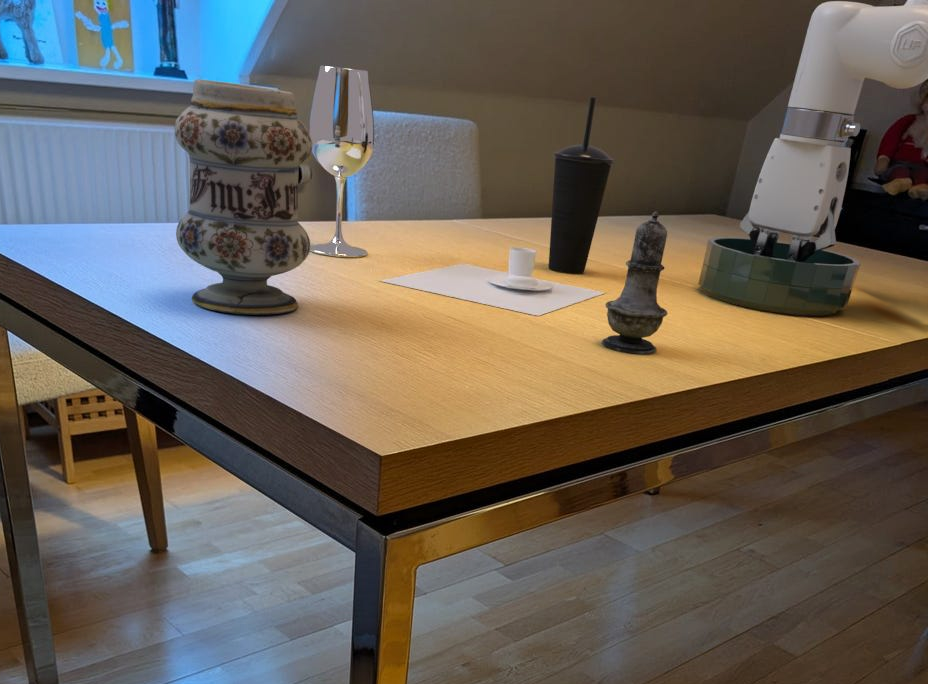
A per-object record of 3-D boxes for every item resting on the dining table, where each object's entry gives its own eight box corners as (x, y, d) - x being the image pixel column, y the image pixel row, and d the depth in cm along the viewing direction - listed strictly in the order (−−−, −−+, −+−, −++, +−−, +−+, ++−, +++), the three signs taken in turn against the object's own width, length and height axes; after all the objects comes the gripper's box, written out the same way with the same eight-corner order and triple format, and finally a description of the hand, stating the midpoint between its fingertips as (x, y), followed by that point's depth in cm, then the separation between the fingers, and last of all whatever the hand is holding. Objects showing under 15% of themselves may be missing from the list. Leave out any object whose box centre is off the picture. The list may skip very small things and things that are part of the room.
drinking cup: (535, 271, 119) (560, 93, 108) (540, 262, 125) (563, 94, 115) (593, 278, 118) (624, 101, 108) (595, 269, 124) (624, 100, 114)
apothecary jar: (334, 313, 87) (342, 95, 78) (227, 324, 80) (220, 84, 70) (261, 286, 94) (259, 83, 85) (155, 294, 86) (141, 72, 77)
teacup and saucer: (532, 298, 103) (537, 259, 101) (471, 285, 106) (475, 247, 104) (563, 289, 110) (568, 252, 107) (504, 276, 112) (508, 241, 110)
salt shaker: (586, 342, 87) (610, 205, 81) (620, 335, 91) (645, 204, 85) (638, 357, 84) (667, 216, 78) (670, 350, 88) (701, 215, 82)
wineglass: (376, 252, 119) (385, 73, 108) (357, 260, 112) (366, 70, 102) (319, 243, 120) (323, 65, 109) (297, 251, 113) (300, 63, 103)
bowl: (815, 293, 126) (829, 247, 123) (866, 324, 110) (884, 271, 107) (683, 279, 125) (694, 232, 122) (716, 307, 109) (729, 254, 106)
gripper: (894, 139, 105) (841, 304, 115) (772, 123, 115) (732, 277, 124) (864, 136, 100) (812, 308, 110) (739, 119, 110) (701, 279, 120)
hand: (770, 290), depth 117 cm, fingers closed on stick, 2 cm apart
